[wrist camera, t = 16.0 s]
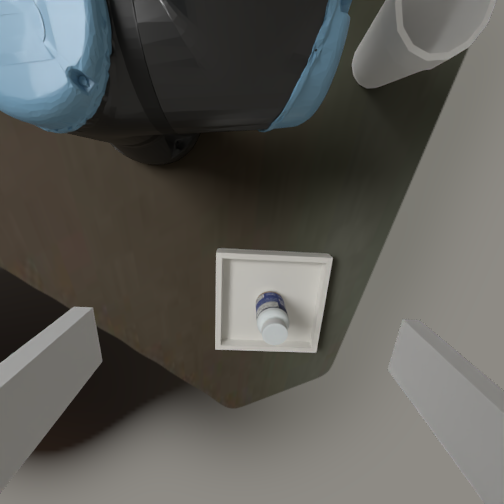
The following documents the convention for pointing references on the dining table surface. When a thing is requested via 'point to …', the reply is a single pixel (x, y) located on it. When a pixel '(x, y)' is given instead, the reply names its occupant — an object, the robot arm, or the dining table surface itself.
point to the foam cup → (417, 37)
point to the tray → (277, 279)
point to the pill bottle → (272, 317)
